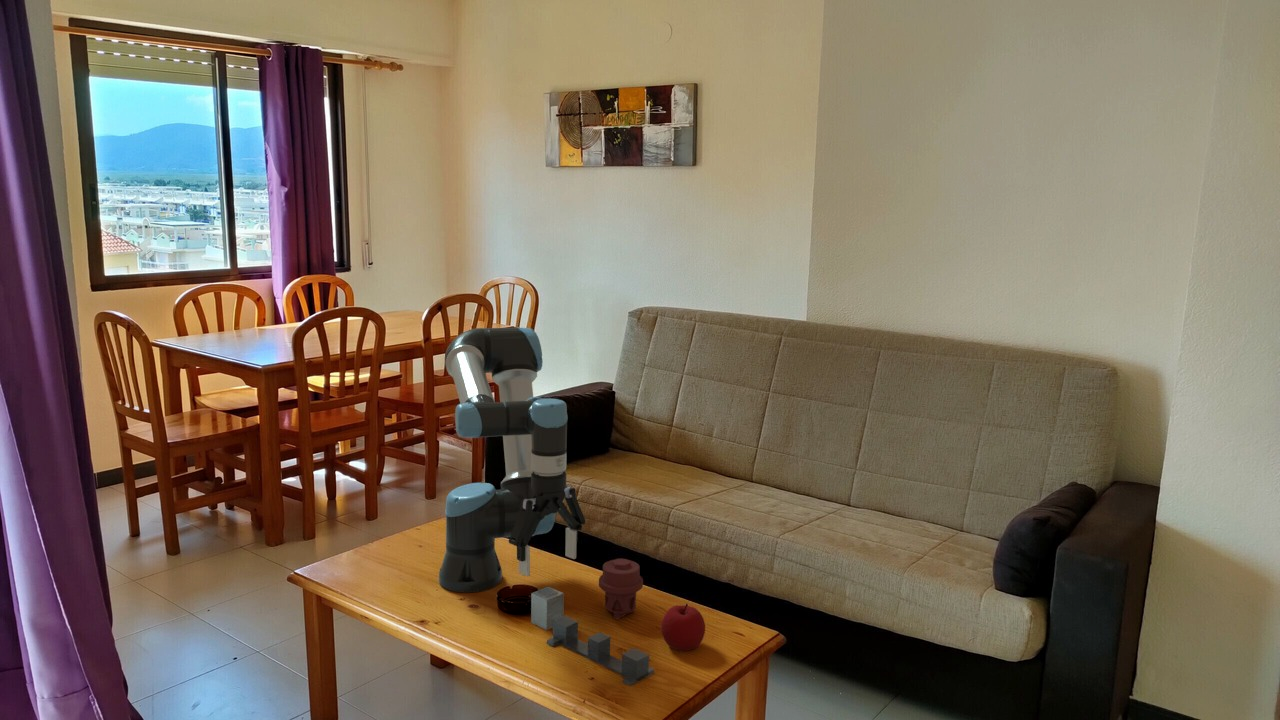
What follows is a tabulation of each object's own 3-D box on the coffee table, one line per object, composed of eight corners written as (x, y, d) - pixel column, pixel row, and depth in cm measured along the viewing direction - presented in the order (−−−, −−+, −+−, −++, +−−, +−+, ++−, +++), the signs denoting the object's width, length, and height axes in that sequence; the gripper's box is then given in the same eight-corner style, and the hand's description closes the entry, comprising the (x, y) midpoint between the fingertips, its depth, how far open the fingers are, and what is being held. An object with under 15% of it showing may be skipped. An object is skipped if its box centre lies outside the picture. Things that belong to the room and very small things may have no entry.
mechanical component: (645, 606, 210) (637, 625, 200) (603, 601, 212) (593, 620, 202) (647, 555, 208) (638, 572, 198) (605, 551, 209) (594, 567, 200)
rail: (546, 643, 191) (546, 623, 190) (570, 632, 196) (571, 613, 195) (630, 686, 175) (630, 664, 174) (654, 672, 180) (654, 651, 179)
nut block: (531, 622, 200) (531, 591, 199) (548, 615, 204) (548, 585, 202) (546, 630, 197) (546, 599, 195) (563, 623, 200) (563, 592, 199)
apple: (702, 636, 196) (704, 593, 194) (706, 657, 187) (708, 611, 185) (659, 635, 196) (661, 592, 194) (661, 656, 187) (663, 611, 185)
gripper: (515, 487, 182) (515, 586, 186) (602, 464, 201) (600, 554, 204) (491, 479, 187) (492, 576, 191) (578, 457, 206) (577, 546, 209)
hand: (548, 565), depth 197 cm, fingers open, 13 cm apart
